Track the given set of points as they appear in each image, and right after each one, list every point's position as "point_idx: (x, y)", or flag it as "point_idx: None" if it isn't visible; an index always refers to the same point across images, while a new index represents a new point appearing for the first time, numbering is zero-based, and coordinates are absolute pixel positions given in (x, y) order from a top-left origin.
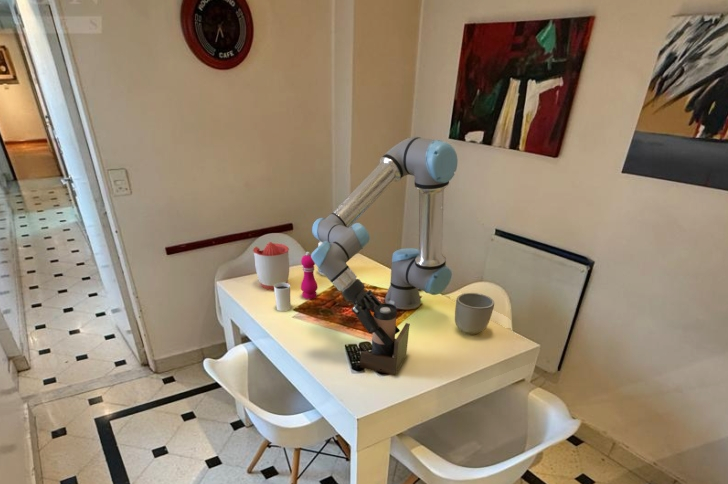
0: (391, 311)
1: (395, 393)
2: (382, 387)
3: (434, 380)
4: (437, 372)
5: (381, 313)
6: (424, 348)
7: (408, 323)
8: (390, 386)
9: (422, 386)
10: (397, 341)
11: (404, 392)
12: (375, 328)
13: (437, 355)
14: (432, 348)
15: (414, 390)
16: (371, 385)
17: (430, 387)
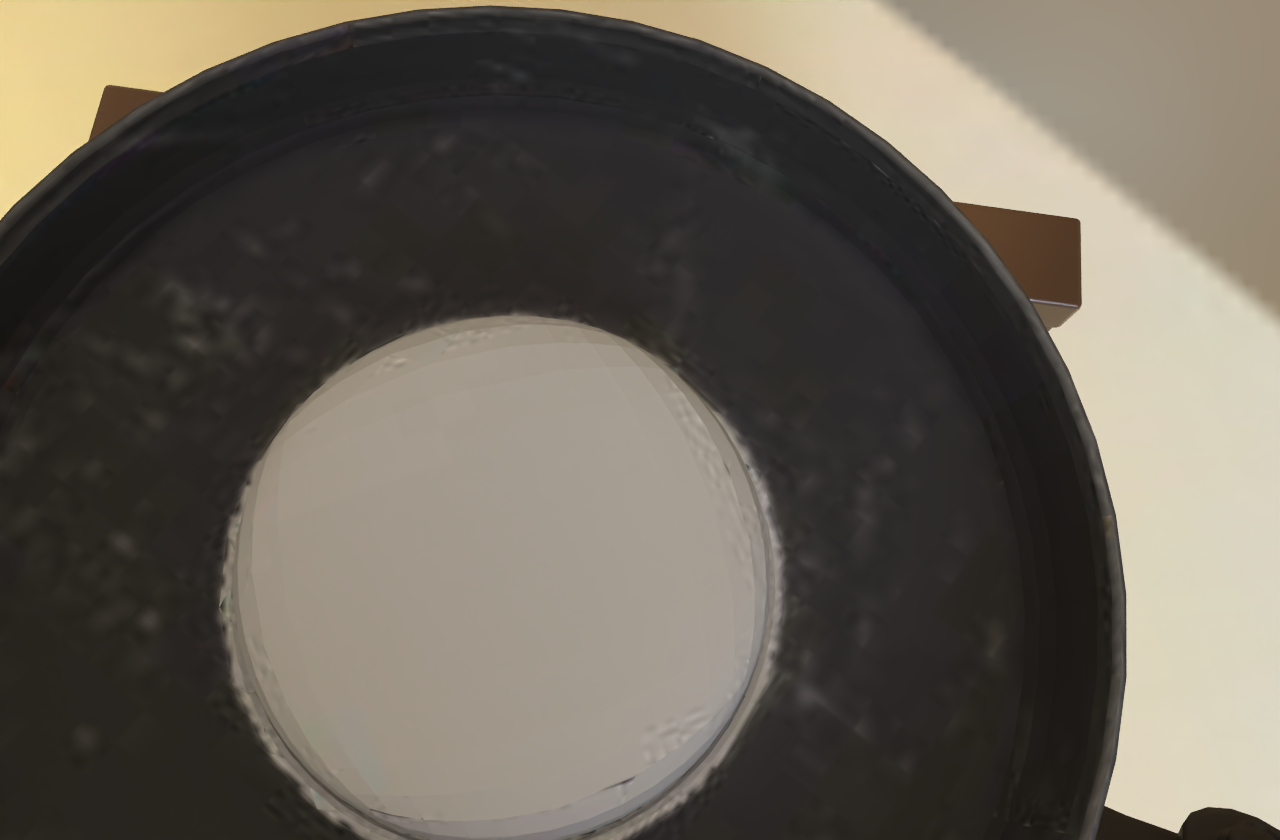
0: (511, 280)
1: (1225, 409)
2: (1174, 586)
3: (797, 25)
4: (617, 2)
5: (1125, 647)
6: (36, 180)
7: (101, 113)
8: (1112, 491)
9: (964, 137)
10: (1067, 247)
11: (1161, 313)
12: (1216, 828)
13: (205, 17)
14: (21, 83)
15: (1077, 212)
16: (1192, 741)
17: (951, 57)
